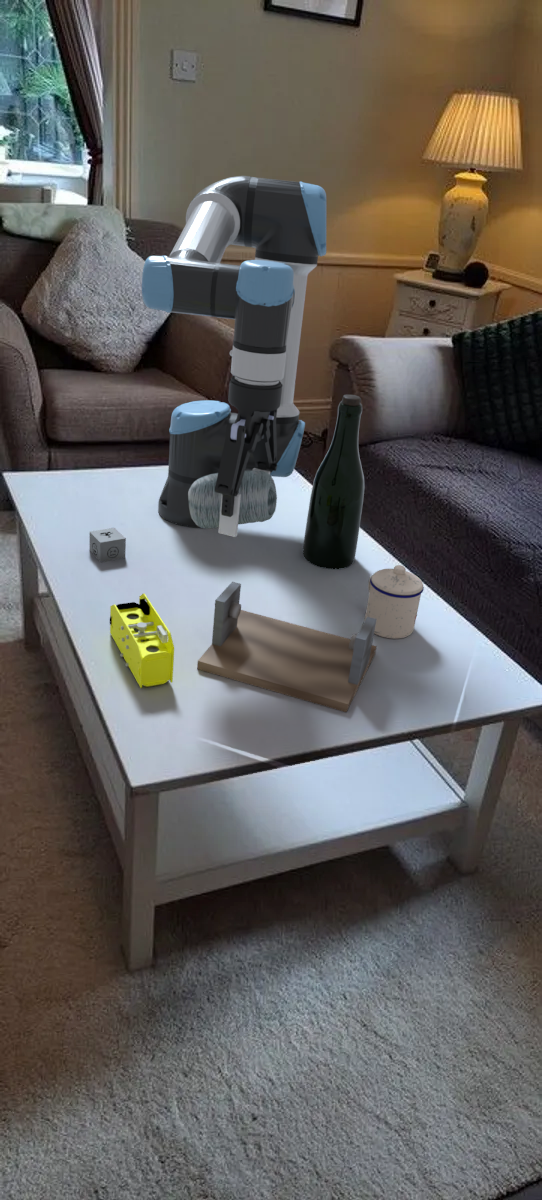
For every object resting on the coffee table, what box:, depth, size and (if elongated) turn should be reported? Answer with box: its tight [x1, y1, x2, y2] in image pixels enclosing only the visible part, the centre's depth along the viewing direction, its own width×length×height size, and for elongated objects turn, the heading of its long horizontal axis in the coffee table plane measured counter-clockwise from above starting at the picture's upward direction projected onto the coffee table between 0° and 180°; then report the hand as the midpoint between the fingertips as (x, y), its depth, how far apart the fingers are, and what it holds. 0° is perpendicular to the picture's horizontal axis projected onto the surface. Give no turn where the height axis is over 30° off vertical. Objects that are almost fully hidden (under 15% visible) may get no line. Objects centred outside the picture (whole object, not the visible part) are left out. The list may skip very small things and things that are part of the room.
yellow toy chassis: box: [109, 593, 175, 689], centre depth 131 cm, size 16×6×8 cm, turn 25°
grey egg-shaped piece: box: [188, 471, 278, 529], centre depth 131 cm, size 14×10×10 cm
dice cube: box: [89, 527, 127, 563], centre depth 160 cm, size 5×5×5 cm
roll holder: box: [196, 581, 377, 713], centre depth 135 cm, size 18×24×10 cm
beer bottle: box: [302, 394, 365, 570], centre depth 163 cm, size 10×10×33 cm
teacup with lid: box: [364, 564, 425, 640], centre depth 148 cm, size 12×9×12 cm
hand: (243, 521), depth 132 cm, fingers closed on grey egg-shaped piece, 11 cm apart
